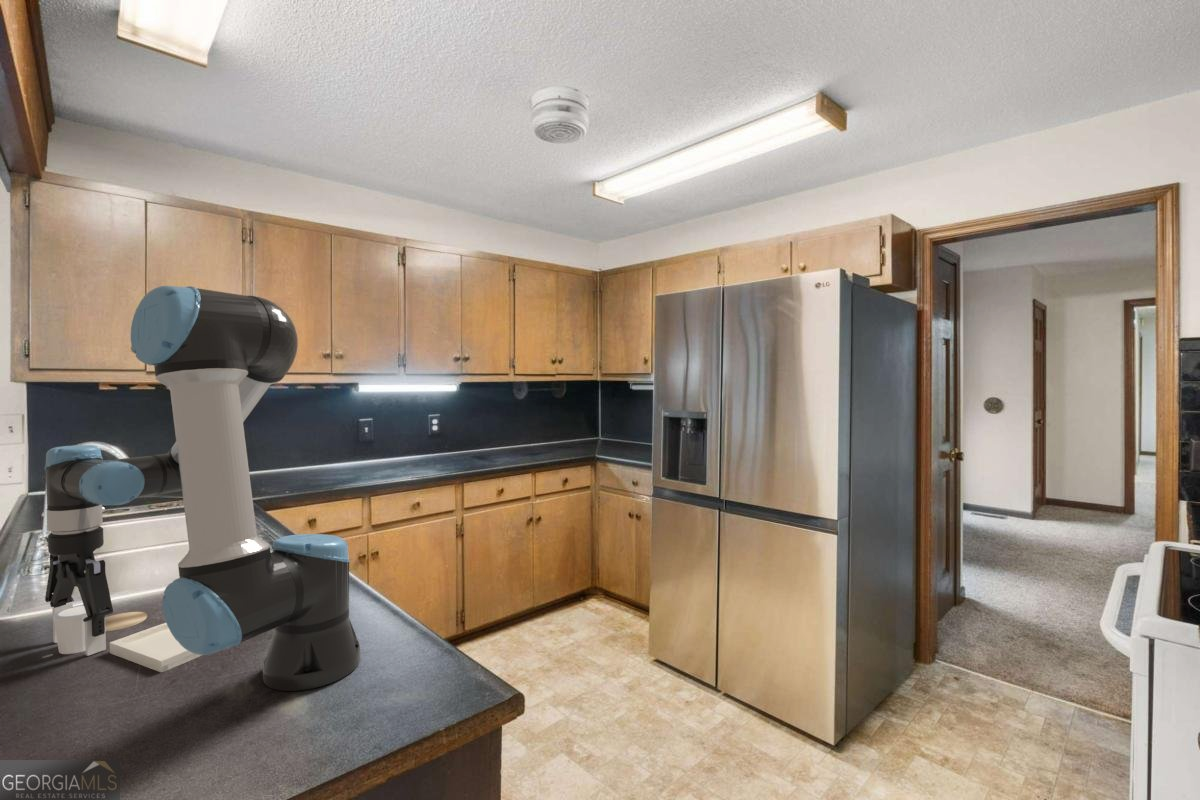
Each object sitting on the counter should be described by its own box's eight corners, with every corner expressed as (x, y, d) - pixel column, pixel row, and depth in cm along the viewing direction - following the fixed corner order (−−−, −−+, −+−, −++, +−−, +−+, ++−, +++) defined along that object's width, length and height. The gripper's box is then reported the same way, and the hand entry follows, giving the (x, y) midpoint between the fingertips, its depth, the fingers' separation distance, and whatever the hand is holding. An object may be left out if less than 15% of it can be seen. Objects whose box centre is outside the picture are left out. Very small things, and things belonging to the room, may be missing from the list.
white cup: (100, 635, 110) (99, 599, 109) (107, 645, 105) (106, 609, 105) (51, 647, 104) (50, 610, 104) (57, 659, 100) (56, 621, 100)
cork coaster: (156, 619, 117) (156, 616, 117) (103, 636, 109) (103, 633, 109) (133, 611, 121) (133, 608, 121) (80, 627, 113) (80, 624, 113)
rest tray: (232, 642, 107) (232, 632, 107) (161, 672, 96) (161, 661, 96) (181, 626, 113) (181, 617, 113) (109, 653, 102) (109, 642, 102)
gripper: (135, 531, 103) (138, 649, 103) (69, 517, 112) (72, 625, 113) (84, 542, 96) (87, 668, 97) (18, 526, 105) (21, 641, 106)
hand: (79, 645), depth 105 cm, fingers open, 11 cm apart
